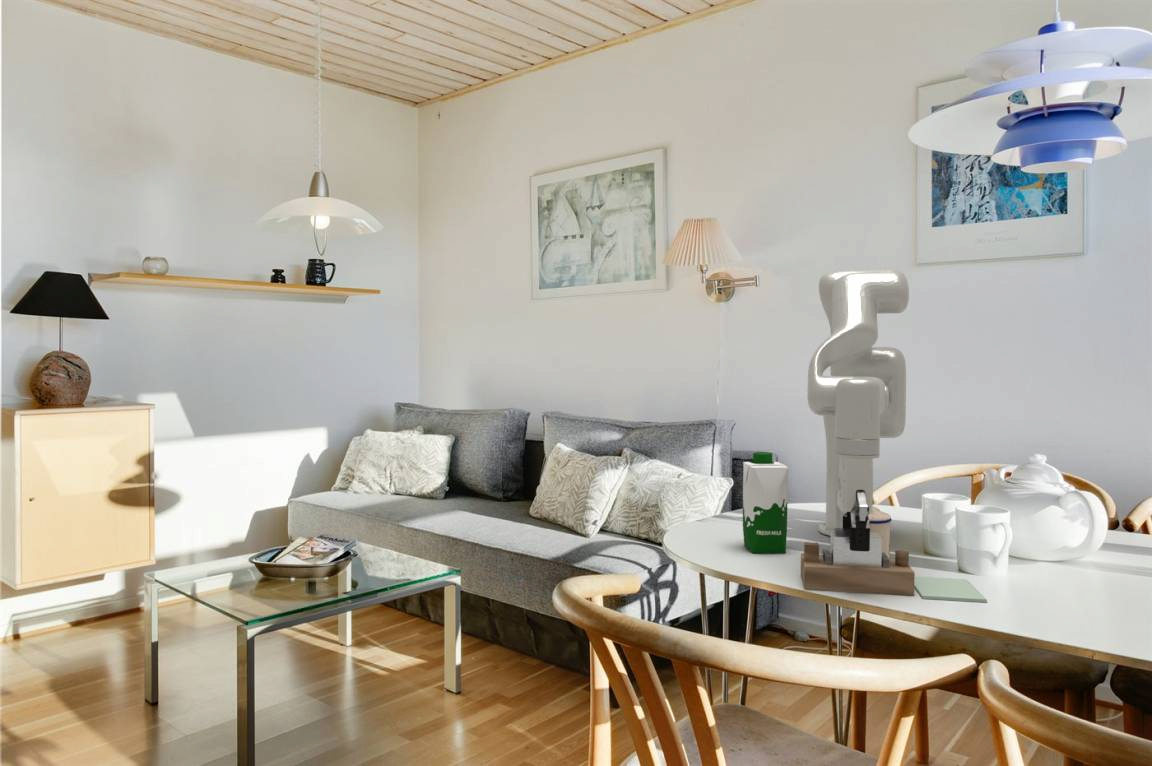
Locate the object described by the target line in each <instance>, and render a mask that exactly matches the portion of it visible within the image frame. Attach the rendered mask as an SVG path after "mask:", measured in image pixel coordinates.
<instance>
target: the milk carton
mask: <svg viewBox="0 0 1152 766" xmlns="http://www.w3.org/2000/svg"><path fill="white" fill-rule="evenodd" d="M742 465H743V467H742V468H743V470H742V471H743V473H742V474H743V478H742V532H743V533H742V534H743V545H744V547H746V548H747V549H748V551H749V552H751V553H752V554H786V553H787V536H788V535H787V534H788V499H789V498H788V496H789V495H788V484H789V483H788V481H789V467H788V466H787V465H786V464H784V463H781V462H779V461H773V452H767V451H765V452H764V451H758V452H756V451H755V452H753V453H752V461H743V463H742Z"/></svg>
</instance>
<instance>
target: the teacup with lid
mask: <svg viewBox="0 0 1152 766" xmlns="http://www.w3.org/2000/svg"><path fill="white" fill-rule="evenodd" d="M843 516H844V515H843ZM892 519H893V518H892V516H891V515H890V514H889V513H887V512H884V511H882V510H880V509H879V508H878V507H875V506H873V505H872V513H871V514H869V528H870V532H872V533H878V535H879V536H880V537H881V539H882V552H884V553H885V554H886V555H887V557H888V558H891V557H890V556H891V554H890V552H891V551H890V550H891V548H890V547H891V522H892ZM842 528H843V522H842Z"/></svg>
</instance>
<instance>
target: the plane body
mask: <svg viewBox="0 0 1152 766" xmlns="http://www.w3.org/2000/svg"><path fill="white" fill-rule="evenodd" d="M803 544H804V545H803V546H804V547H803V553H801V554H800V578H801V581H802V585H803V588H804V590H810V591H811V590H813V591H827V592H828V591H829V592H831V591H832V592H846V593H847V592H848V593H862V594H863V593H865V594H879V595H882V594H883V595H894V596H895V595H897V596H911V597H912V596H915V588H914V576H915V571H914V570H913V568H912V567H911V566H910V564H909V561H910V560H909V557H910V553H909V551H908V550H903V549H896V550H895V551H894V552H895V553H894V554H895V555H894V558H891V557H890V558H888V557H887V555H886V554H885V553H884V552H882V564H881V568H879V567H860V566H841V565H833V563H832V556H831V554H830V549H822V554H820V545H819V542H809V541H808V542H806V541H805V542H803Z"/></svg>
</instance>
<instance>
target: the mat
mask: <svg viewBox="0 0 1152 766" xmlns="http://www.w3.org/2000/svg"><path fill="white" fill-rule="evenodd" d="M914 590H915V591H916V592H917V593H918V595H919V596H920V598H921V599H923V600H924V599H925V600H938V601H956V602H970V603H971V602H972V603H974V602H975V603H988V599H987V598H986V597H985V595H983V594H982V593H981V592H980V591H979V590H978V589H977V588H976V587H975V586H974V585H973V584H972V582H970V581H969V580H968V579H966V578H952V577H951V578H950V577H933V576H931V577H930V576H917V575H916V576H914Z"/></svg>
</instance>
